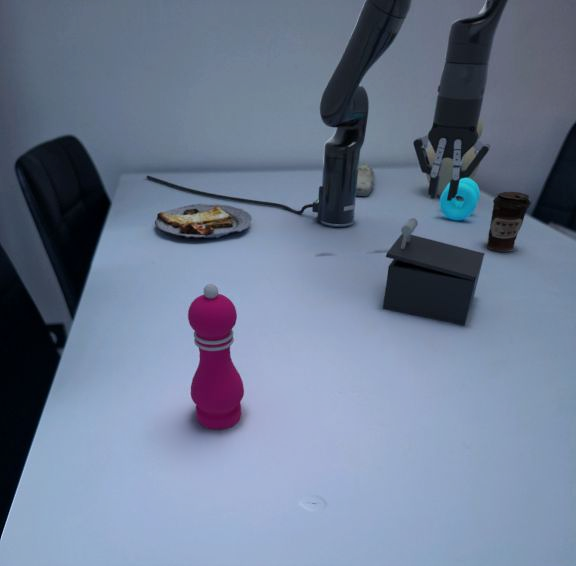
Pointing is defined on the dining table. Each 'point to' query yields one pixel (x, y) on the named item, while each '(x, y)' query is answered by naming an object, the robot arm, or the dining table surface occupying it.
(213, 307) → the pepper mill
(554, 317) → the dining table surface
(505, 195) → the coffee cup
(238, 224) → the food plate
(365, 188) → the long grey stone
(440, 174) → the vase
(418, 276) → the dark hinged chest
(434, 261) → the lid
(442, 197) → the donuts
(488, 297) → the dining table surface
